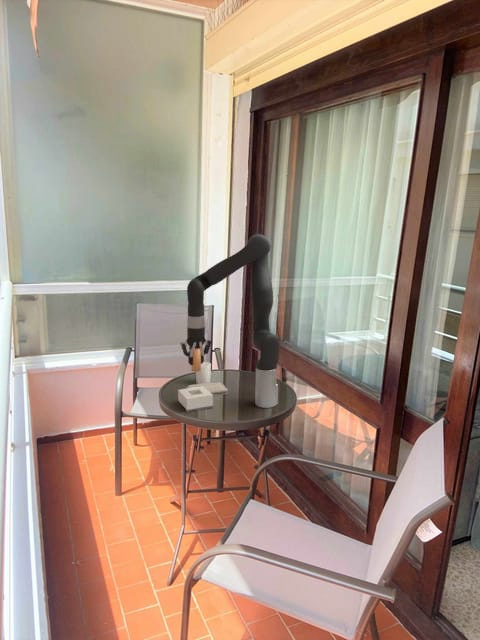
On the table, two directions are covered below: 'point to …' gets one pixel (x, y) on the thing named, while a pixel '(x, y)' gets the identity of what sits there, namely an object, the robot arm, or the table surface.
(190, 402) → the socket block
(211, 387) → the washcloth
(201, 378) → the white cup
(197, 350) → the plug
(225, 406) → the table surface
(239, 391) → the table surface
